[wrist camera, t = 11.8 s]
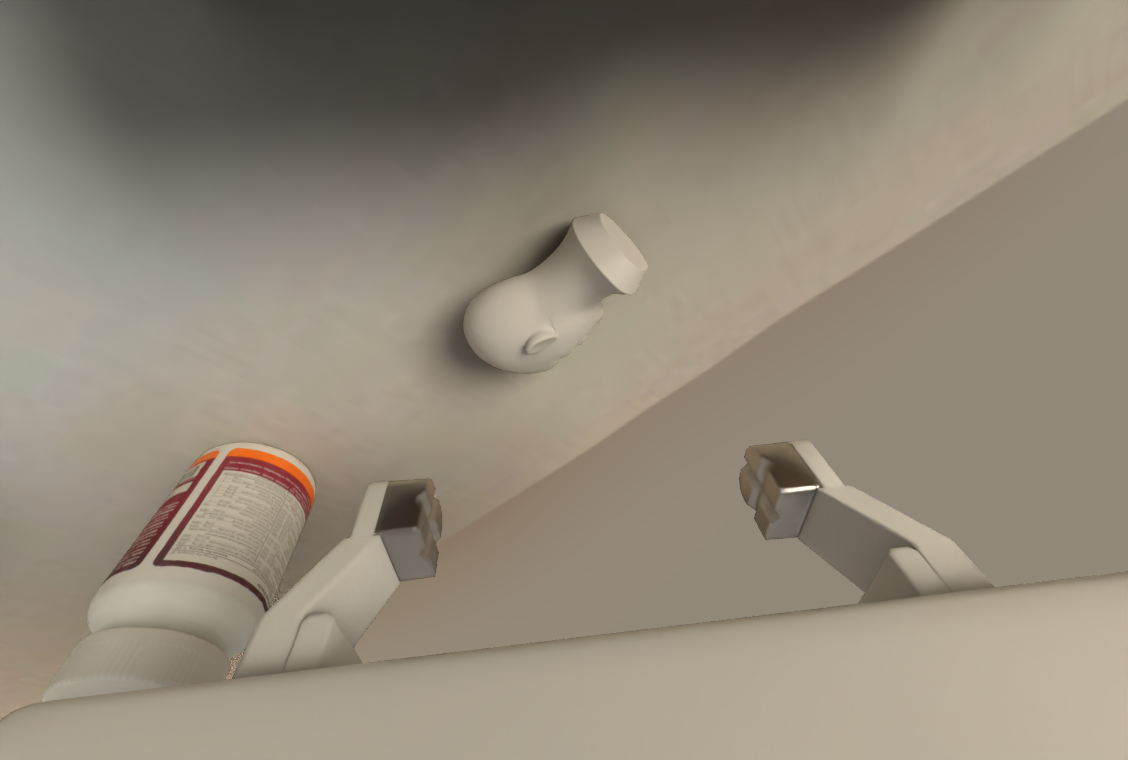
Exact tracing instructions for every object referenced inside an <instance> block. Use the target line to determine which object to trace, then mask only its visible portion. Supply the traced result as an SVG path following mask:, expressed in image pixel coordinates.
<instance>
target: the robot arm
mask: <svg viewBox="0 0 1128 760" xmlns="http://www.w3.org/2000/svg"><path fill="white" fill-rule="evenodd" d="M744 458H745V459H746V461H747V464H746V465H745V466H744V467H743V468H742V469H741V472H740V477H739V482H740V490H741V493H742V496H743V498H744V500H745V502H746V504H747V505H748V506H750V507H751V508H753V509H754V510H756V513H755V517H754V519H755V521H756V523H757V525H758V527H759V529H760V530H761V532H762V534H763V536H764V538H765V540H770V539H783V538H794V537H799V538H798V539H799V540H800V541H801V542H803V543H804V544H805V545H806V546H808V547H809V548H810V549H811V550H813V551H814V552H815V553H816V554H818V555H819V556H820V557H821V558H822V559H824V560H825V561H826V562H827V563H829V564H830V565H831V566H833V567H834V568H835V569H836V570H837V571H839V572H840V573H841V574H843V575H844V576H845V577H846V578H847V579H849V580H850V581H851V582H852V583H854V584H855V585H856V586H857V587H859V588H860V589H861V590H862V591H864V592H865V593H864V595H863V596H862V598H861V600H860V601H859V603H858V604H852V605H845V606H836V607H828V608H819V609H810V610H802V611H794V612H786V613H777V614H769V615H761V616H752V617H745V618H736V619H727V620H719V621H711V622H702V623H695V624H686V625H677V626H669V627H661V628H652V629H644V630H636V631H627V632H619V633H611V634H603V635H594V636H586V637H577V638H569V639H561V640H552V641H544V642H535V643H527V644H520V645H511V646H503V647H494V648H485V649H478V650H469V651H461V652H452V653H444V654H435V655H427V656H419V657H411V658H403V659H394V660H386V661H377V662H369V663H362V661H361V660H360V658H359V657H358V655H357V653H356V652H355V650H354V649H353V648H354V646H355V645H356V644H357V642H358V641H359V640H360V638H361V637H362V636H363V634H364V633H365V631H366V630H367V629H368V627H369V626H370V624H371V623H372V621H373V620H374V619H375V618H376V616H377V615H378V614H379V612H380V611H381V609H382V608H383V607H384V605H385V604H386V603H387V601H388V600H389V598H390V597H391V596H392V594H393V593H394V592H395V590H396V589H397V587H398V586H399V585H400V582H401V581H408V580H415V579H422V578H429V577H435V573H436V567H437V560H438V549H437V546H436V542H437V541H438V540H439V539H440V537H441V531H442V512H441V506H440V502H439V500H438V499H436V498H435V497H434V494H435V486H434V483H433V480H432V479H430V478H427V479H414V480H401V481H390V482H379V483H370V484H369V485H368V487H367V488H366V490H365V493H364V496H363V499H362V502H361V505H360V508H359V511H358V514H357V517H356V520H355V523H354V526H353V529H352V532H351V535H350V538H346V539H343V540H342V541H341V542H339V543H338V544H337V545H336V546H335V547H334V548H333V549H332V550H331V551H330V552H329V553H328V554H327V555H326V556H325V557H324V558H323V559H321V560H320V561H319V562H318V563H317V564H316V565H315V566H314V567H313V568H312V569H311V570H310V571H309V572H308V573H307V574H306V575H305V576H303V577H302V578H301V579H300V580H299V581H298V582H297V583H296V584H295V585H294V586H293V587H292V588H291V589H290V590H289V591H288V592H287V593H286V594H284V595H283V596H282V597H281V598H280V599H279V600H278V601H277V602H276V603H275V604H274V605H273V606H272V607H271V608H270V609H269V610H268V611H266V612H265V613H264V614H263V615H262V616H261V617H260V618H259V620H258V622H257V624H256V626H255V629H254V631H253V633H252V635H251V638H250V640H249V642H248V644H247V647H246V649H245V651H244V653H243V656H242V658H241V660H240V662H239V665H238V667H237V669H236V671H235V673H234V676H233V678H232V679H227V680H219V681H211V682H202V683H194V684H186V685H177V686H169V687H161V688H152V689H144V690H135V691H127V692H119V693H110V694H102V695H94V696H85V697H77V698H69V699H60V700H52V701H46V702H40V703H35V704H31V705H28V706H25V707H22V708H19V709H17V710H15V711H13V712H11V713H10V714H8V715H7V716H5V717H4V718H2V719H1V720H0V760H1128V571H1125V572H1117V573H1109V574H1100V575H1092V576H1085V577H1076V578H1068V579H1059V580H1051V581H1042V582H1034V583H1026V584H1018V585H1009V586H1001V587H994V586H993V585H992V584H991V583H990V582H989V581H988V579H987V578H986V577H985V576H984V575H983V574H982V573H981V572H980V571H979V569H978V568H977V567H976V566H975V565H974V564H973V563H972V562H971V561H970V560H969V559H968V557H967V556H966V555H965V554H964V553H963V552H962V551H961V550H960V549H959V547H958V546H957V545H956V544H955V543H954V542H953V541H952V540H951V539H949V538H947V537H945V536H943V535H941V534H939V533H938V532H935V531H934V530H932V529H930V528H928V527H926V526H925V525H923V524H921V523H919V522H917V521H915V520H913V519H911V518H910V517H908V516H906V515H904V514H902V513H901V512H898V511H897V510H895V509H893V508H891V507H890V506H888V505H886V504H884V503H882V502H880V501H878V500H877V499H875V498H873V497H871V496H869V495H867V494H865V493H864V492H862V491H860V490H858V489H856V488H854V487H852V486H851V485H847V486H844V484H843V483H842V482H841V481H840V479H839V478H838V477H837V476H836V474H835V473H834V472H833V470H832V469H831V468H830V467H829V465H828V464H827V463H826V461H824V459H823V458H822V456H821V455H820V454H819V453H818V451H817V450H816V449H815V447H814V446H813V445H812V444H811V443H810V442H809V441H807V440H801V441H791V442H781V443H772V444H763V445H754V446H749V447H748V448H747V449H746V452H745V456H744Z"/></svg>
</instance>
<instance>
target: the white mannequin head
mask: <svg viewBox="0 0 1128 760" xmlns="http://www.w3.org/2000/svg"><path fill="white" fill-rule="evenodd" d="M646 269H647V263H646V261H645V259H644V257H643V255H642V254H641V252H640V251H639V249H638V248H637V247H636V245H635V244H634V243H633V242H632V241H631V239H630V238H629V237H628V236H627V235H626V234H625V233H624V232H623V231H622V230H621V229H620V228H619V227H618V225H617V224H615V223H614V222H613V221H612V220H611V219H610V218H609V217H608V216H606V215H605V214H603V213H598V214H592V215H586V216H581V217H576V218H574V219H573V221H572V223H571V226H570V228H569V230H568V233H567V235H566V237H565V238H564V240H563V241H562V243H561V244H560V245H559V247H558V248H557V249H556V250H555V251H554V252H553V253H552V254H551V255H550V256H549V257H548V258H547V259H546V260H545V261H543V262H542V263H541V264H540V265H538V266H537V267H536V268H534V269H533V270H531V271H529V272H527V273H525V274H522V275H518V276H514V277H511V278H508V279H505V280H502V281H500V282H498V283H495V284H493V285H491V286H489V287H488V288H486V289H484V290H483V291H481V292H480V293H478V294H477V295H476V296H475V297H474V298H473V299H472V301H471V302H470V303H469V305H468V307H467V309H466V312H465V315H464V321H463V327H464V333H465V336H466V339H467V341H468V343H469V345H470V346H471V348H472V349H473V350H474V352H475V353H476V354H477V355H478V356H479V357H480V358H481V359H482V360H484V361H485V362H486V363H488V364H490V365H492V366H494V367H496V368H498V369H501V370H504V371H507V372H512V373H522V374H529V373H538V372H543V371H546V370H549V369H551V368H553V367H554V366H555V365H556V364H557V362H558V359H559V358H562V357H564V356H567V355H568V354H570V353H571V352H572V351H573V350H574V349H575V348H576V347H577V346H579V345H580V344H581V343H582V342H583V340H584V338H585V337H586V336H587V335H588V333H589V332H590V331H591V330H592V328H593V327H594V326H595V325H596V324H597V323H598V321H599V320H600V319H601V318H602V315H603V309H602V306H601V304H600V302H599V301H601V300H602V299H603V298H605V297H607V296H609V295H611V294H627V295H630V294H633V293H635V292H636V291H637V289H638V287H639V285H640V283H641V281H642V278H643V276H644V274H645V272H646Z"/></svg>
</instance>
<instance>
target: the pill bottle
mask: <svg viewBox="0 0 1128 760" xmlns="http://www.w3.org/2000/svg"><path fill="white" fill-rule="evenodd" d="M315 496H316V486H315V481H314V479H313V477H312V474H311V473H310V471H309V470H308V469H307V467H306V466H305V465H304V464H303V463H302V462H301V461H299V460H298V459H297V458H295V457H294V456H292V455H290V454H288V453H286V452H284V451H282V450H279V449H277V448H274V447H271V446H267V445H263V444H257V443H247V442H238V443H229V444H224V445H220V446H217V447H214V448H212V449H210V450H208V451H206V452H205V453H204V454H202V455H201V456H200V457H199V458H198V459H197V460H196V462H195V463H194V464H193V465H192V467H191V468H190V469H189V470H188V472H187V473H186V474H185V475H184V477H183V478H182V479H181V481H180V482H179V483H178V485H177V486H176V488H175V489H174V490H173V492H172V493H171V494H170V495H169V497H168V498H167V499H166V501H165V502H164V503H163V505H162V506H161V507H160V508H159V510H158V511H157V512H156V514H155V515H154V517H153V518H152V519H151V521H150V522H149V523H148V525H147V526H146V527H145V529H144V530H143V531H142V533H141V534H140V535H139V537H138V538H137V539H136V541H135V542H134V543H133V545H132V546H131V547H130V549H129V550H128V551H127V553H126V554H125V555H124V556H123V558H122V559H121V561H120V562H119V563H118V565H117V566H116V567H115V569H114V570H113V571H112V572H111V574H110V575H109V577H108V578H107V579H106V580H105V581H104V582H103V584H102V585H101V587H100V589H99V591H98V592H97V593H96V595H95V596H94V598H93V600H92V601H91V604H90V606H89V609H88V618H87V620H88V625H89V628H90V631H91V635H89V636H87V637H85V638H84V639H82V640H81V641H80V642H79V643H78V644H77V645H76V646H75V648H74V649H73V651H72V652H71V653H70V655H69V656H68V658H67V660H66V661H65V663H64V664H63V666H62V667H61V668H60V670H59V671H58V672H57V674H56V675H55V676H54V678H53V679H52V681H51V682H50V684H49V685H48V687H47V688H46V690H45V691H44V693H43V695H42V698H41V702H46V701H52V700H60V699H69V698H77V697H85V696H94V695H102V694H110V693H119V692H127V691H135V690H144V689H152V688H161V687H169V686H177V685H186V684H194V683H202V682H211V681H219V680H226V678H227V675H228V673H229V670H230V662H229V659H230V658H232V657H234V656H236V655H237V654H239V653H240V652H242V651H243V650H244V649H245V648H246V647H247V644H248V642H249V640H250V638H251V635H252V633H253V631H254V629H255V626H256V624H257V622H258V620H259V618H260V617H261V616H262V615H263V614H264V613H265V612H266V611H268V610H269V607H270V605H271V603H272V600H273V598H274V596H275V593H276V591H277V589H278V587H279V584H280V582H281V579H282V577H283V575H284V572H285V570H286V567H287V565H288V563H289V560H290V558H291V556H292V553H293V551H294V548H295V546H296V544H297V541H298V539H299V537H300V534H301V532H302V529H303V527H304V525H305V522H306V520H307V517H308V515H309V512H310V510H311V508H312V505H313V502H314V499H315Z"/></svg>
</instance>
